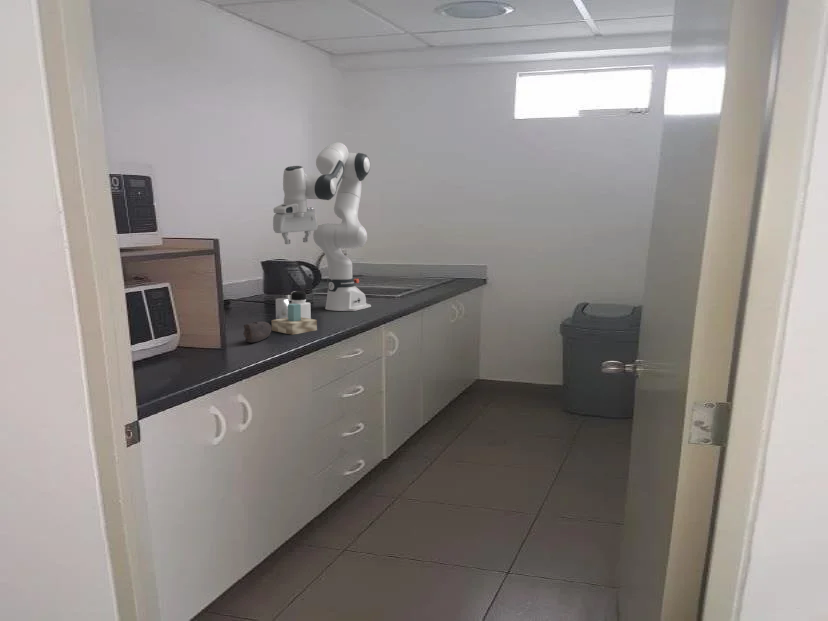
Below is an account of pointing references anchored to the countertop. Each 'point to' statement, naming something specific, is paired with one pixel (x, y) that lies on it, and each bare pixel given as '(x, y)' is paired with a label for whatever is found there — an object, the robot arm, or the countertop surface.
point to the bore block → (294, 325)
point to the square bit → (294, 312)
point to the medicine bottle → (300, 298)
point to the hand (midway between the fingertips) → (296, 243)
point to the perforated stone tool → (256, 331)
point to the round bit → (282, 308)
